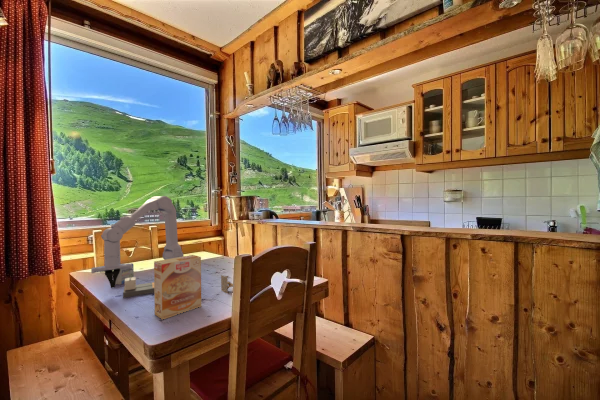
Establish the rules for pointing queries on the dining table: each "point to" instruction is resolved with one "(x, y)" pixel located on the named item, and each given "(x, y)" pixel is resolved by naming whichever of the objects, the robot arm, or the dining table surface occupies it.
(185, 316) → the dining table surface
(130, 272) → the medicine box
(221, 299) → the dining table surface
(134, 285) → the fader knob
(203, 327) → the dining table surface
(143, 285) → the fader panel
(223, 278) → the architectural model
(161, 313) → the coffeecake box
